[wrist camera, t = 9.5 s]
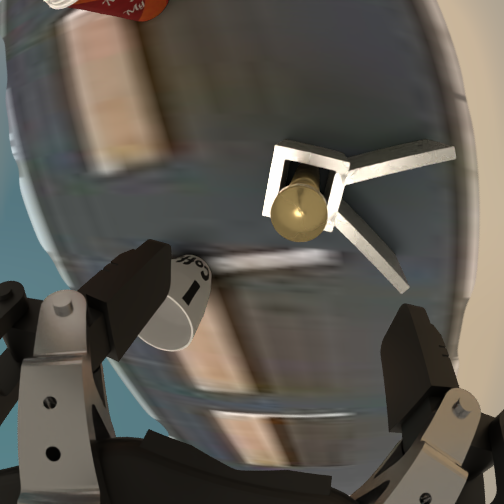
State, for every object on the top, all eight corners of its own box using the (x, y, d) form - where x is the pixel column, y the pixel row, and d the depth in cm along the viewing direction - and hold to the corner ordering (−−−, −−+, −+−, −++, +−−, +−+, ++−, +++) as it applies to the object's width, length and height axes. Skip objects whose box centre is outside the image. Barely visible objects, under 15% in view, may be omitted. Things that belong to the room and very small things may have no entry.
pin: (294, 153, 28) (276, 181, 17) (327, 161, 28) (334, 195, 16) (287, 185, 30) (265, 234, 18) (320, 193, 29) (319, 247, 18)
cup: (232, 260, 35) (201, 311, 26) (213, 309, 39) (184, 362, 30) (171, 232, 35) (125, 273, 26) (159, 283, 39) (120, 328, 30)
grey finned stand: (292, 100, 26) (284, 95, 20) (430, 140, 24) (459, 148, 18) (267, 228, 32) (254, 257, 26) (392, 260, 30) (406, 295, 24)
